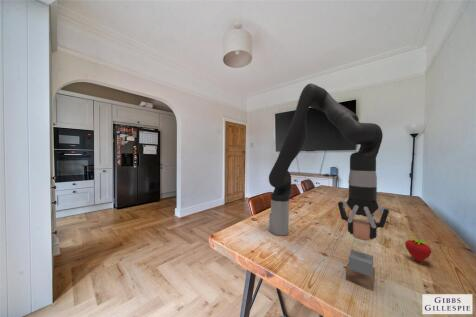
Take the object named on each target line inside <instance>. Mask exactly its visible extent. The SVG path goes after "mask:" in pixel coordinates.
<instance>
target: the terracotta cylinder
mask: <svg viewBox="0 0 476 317" xmlns="http://www.w3.org/2000/svg"><path fill="white" fill-rule="evenodd" d="M352 236H353V238H355V239H358V240H360V241H367V242H368V241H371V240H372V239H371V224H370V221H369V220H365V219H361V218H355V219H353V234H352Z"/></svg>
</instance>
